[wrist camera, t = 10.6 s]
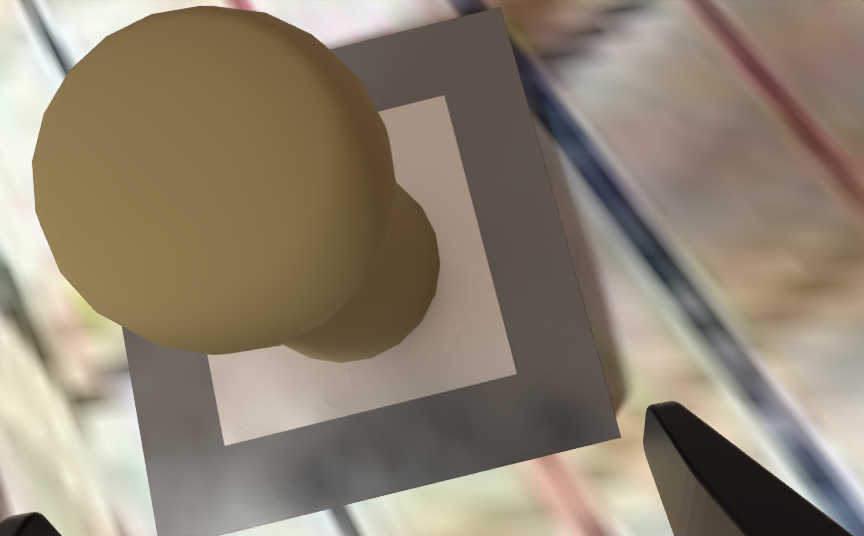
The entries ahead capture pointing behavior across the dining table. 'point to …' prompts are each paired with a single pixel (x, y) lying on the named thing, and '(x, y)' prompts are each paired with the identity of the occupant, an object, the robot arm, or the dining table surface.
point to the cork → (231, 192)
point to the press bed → (423, 348)
